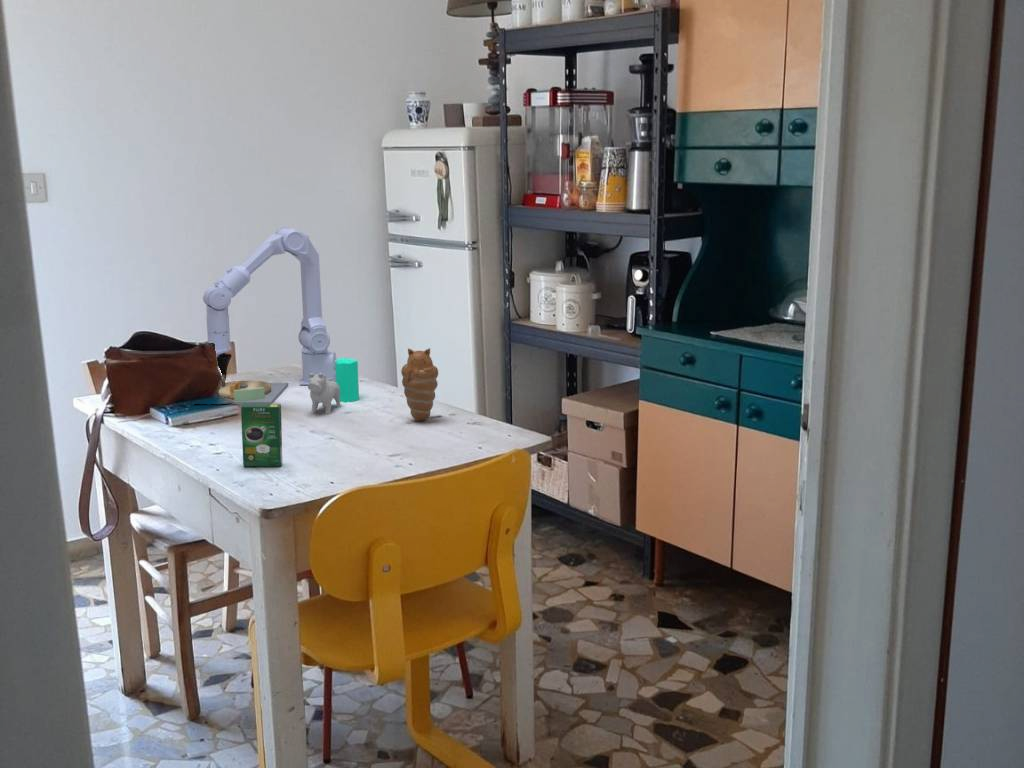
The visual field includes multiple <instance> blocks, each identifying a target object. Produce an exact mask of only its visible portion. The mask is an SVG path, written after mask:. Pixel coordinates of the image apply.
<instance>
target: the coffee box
mask: <svg viewBox="0 0 1024 768" xmlns="http://www.w3.org/2000/svg"><path fill="white" fill-rule="evenodd" d="M240 413H241V415H240V416H241V417H240V418H241V419H240V421H241V441H242V442H241V445H242V465H243V466H248V467H247V468H255V467H256V468H257V467H262V468H263V467H269V468H274V467H275V466H276V467H280V466H281V467H282V465H283V438H282V437H283V434H282V433H283V429H282V405H281V403H272V404H243V405H240ZM243 466H242V467H243ZM249 466H250V467H249ZM251 466H252V467H251ZM253 466H255V467H253Z"/></svg>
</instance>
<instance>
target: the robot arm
mask: <svg viewBox="0 0 1024 768" xmlns="http://www.w3.org/2000/svg"><path fill="white" fill-rule="evenodd" d="M286 252H287V253H288V254H290V255H292V257H294V258H296V259H297V260H298V261H299V264H300V281H301V283H300V284H301V296H302V297H301V300H302V303H301V304H302V319H301V321H300V331H299V333H298V341H299V343H300V345H301V346H302V349H301V365H302V366H301V367H302V380H301V381H300V382H299V386H308V385H309V374H310V373H313V374H319V373H322V374H323V375H326V379H328V378H332V381H334V382H336V370H335V360H337V355H336V352H335V351H329V349H328V348H329V347H330V344H331V343H330V342H331V337H330V335H329V334H328V332H327V326H326V323H325V322H324V319H323V311H322V291H321V289H322V288H321V287H322V286H321V271H320V269H321V268H320V254H319V252H318V251H317V248H315V245H313V243H312V241H311V240H310V237H309V236H308V235H307V234H305V232H303V231H301V230H300V229H297V228H291V227H286V226H285V227H280V228H279V229H277V230H276V231H275V233H272V234H271V235H269V237H267V239H265V241H264V242H263V243H262V244H261V245H260V246H259V247H257V249H256V250H255V251H254V252H253V253H252V254H251V256H249V257H248V259H247V260H246V261H245V262H243V264H241V265H234V266H233V267H228V268H227V269H226V273H225V274H224V275H223V276H222V277H221V278H220V279H219V280H215V281H214V282H213V286H209V287H208V288H206V290H205V291H204V294H203V296H202V300H203V302H204V304H205V305H206V307H205V308H206V331H207V332H206V333H207V344H208V343H214V344H215V351H216V357H217V361H218V366H219V368H220V370H221V373H222V374H224V375H225V381H226V379H227V375H228V373H227V371H228V367H229V364H230V360H231V359H232V355H233V354H232V353H229V352H231V351H232V345H231V334H230V314H229V306H230V305H231V303H232V302H231V301H232V298H235V296H237V295H238V293H240V292H241V291H242V290H243V289H244V288H245V287H246V286H247V285H248V284H249V283H250V282H251V275H252V274H253V273H254V272H255V271H256V270H258V269H259V268H260V267H261V266H262V265H263V264H264V263H266V262H267V261H268V260H269V259H270V258H271V257H273V256H277V255H284V254H286Z"/></svg>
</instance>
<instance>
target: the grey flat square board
mask: <svg viewBox="0 0 1024 768" xmlns="http://www.w3.org/2000/svg"><path fill="white" fill-rule="evenodd" d="M269 383H270V384H271V391H270V392H268V393H266V394H264V395H265V398H263V399H257V400H249V401H234V398H228V397H224V398H226V399H229V400H232V401H234V402H235V403H237V404H238V405H237V406H242V405H243V404H274V402H275V401H276V400H277V399H278V398H279V397H280V396H281V395H282V394H283V393H284V392H285V390H286V389H287V388H288V387H289V382H269Z"/></svg>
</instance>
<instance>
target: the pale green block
mask: <svg viewBox="0 0 1024 768" xmlns="http://www.w3.org/2000/svg"><path fill="white" fill-rule="evenodd" d="M263 398H265V395H264V388H263V387H260V388H254V389H244V390H234V401H249V400H257V399H263Z"/></svg>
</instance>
